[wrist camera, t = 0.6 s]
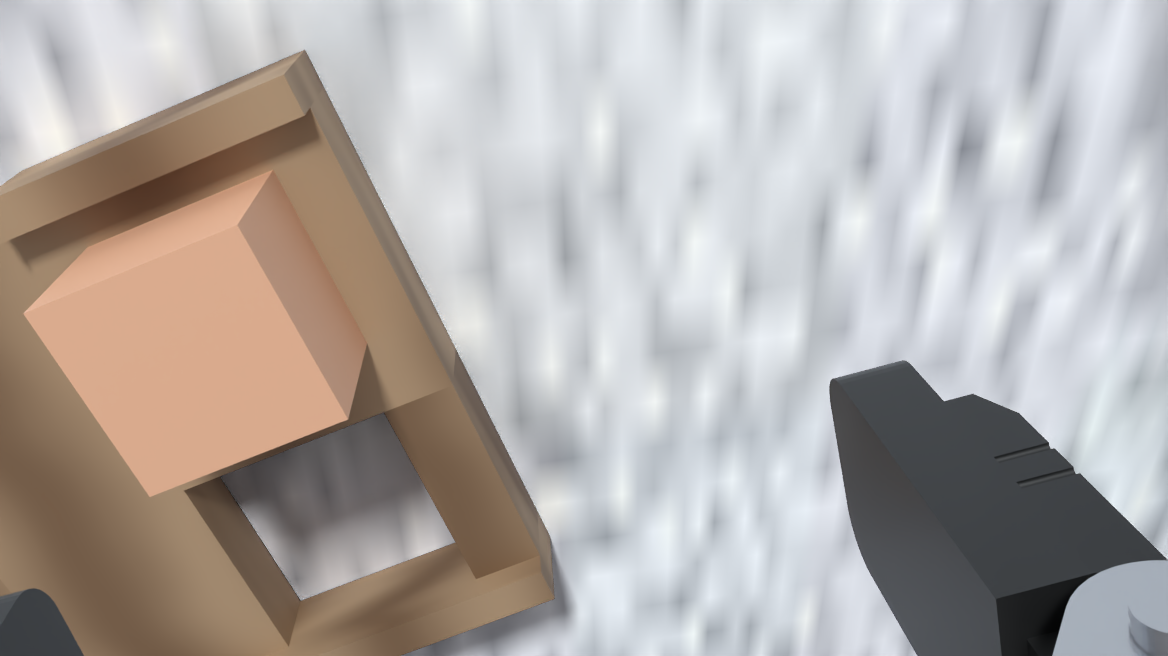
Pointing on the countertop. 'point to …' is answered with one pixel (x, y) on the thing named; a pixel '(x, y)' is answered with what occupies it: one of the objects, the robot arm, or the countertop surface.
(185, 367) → the block
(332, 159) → the brown wooden compartment frame
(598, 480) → the countertop surface
